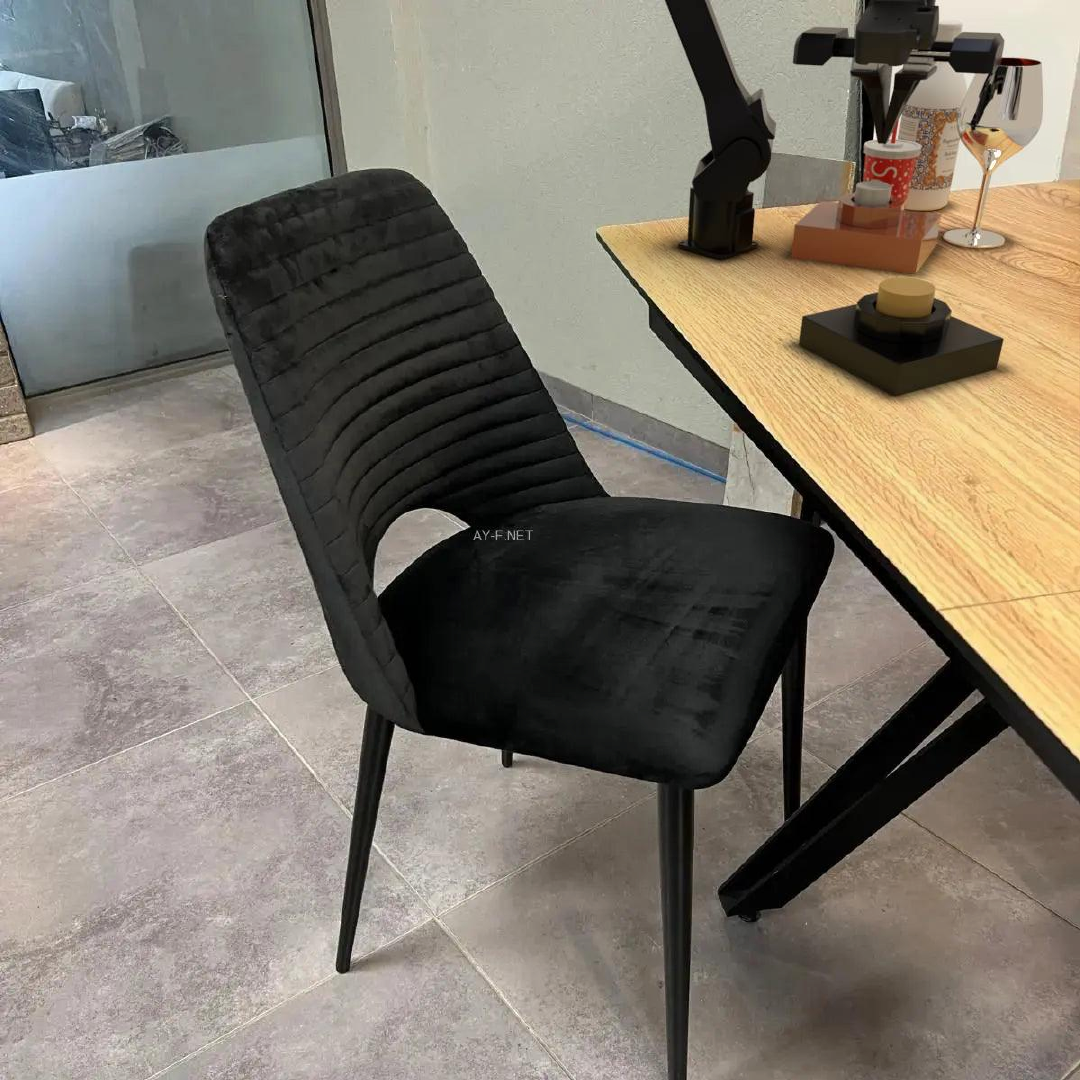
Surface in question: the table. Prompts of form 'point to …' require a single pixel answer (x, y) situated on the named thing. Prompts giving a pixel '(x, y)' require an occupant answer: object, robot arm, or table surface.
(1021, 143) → the wineglass
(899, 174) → the beverage cup
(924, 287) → the yellow cylinder
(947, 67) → the bath foam
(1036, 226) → the table surface
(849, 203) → the button housing
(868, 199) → the white cylinder
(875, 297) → the black push button base
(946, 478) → the table surface
